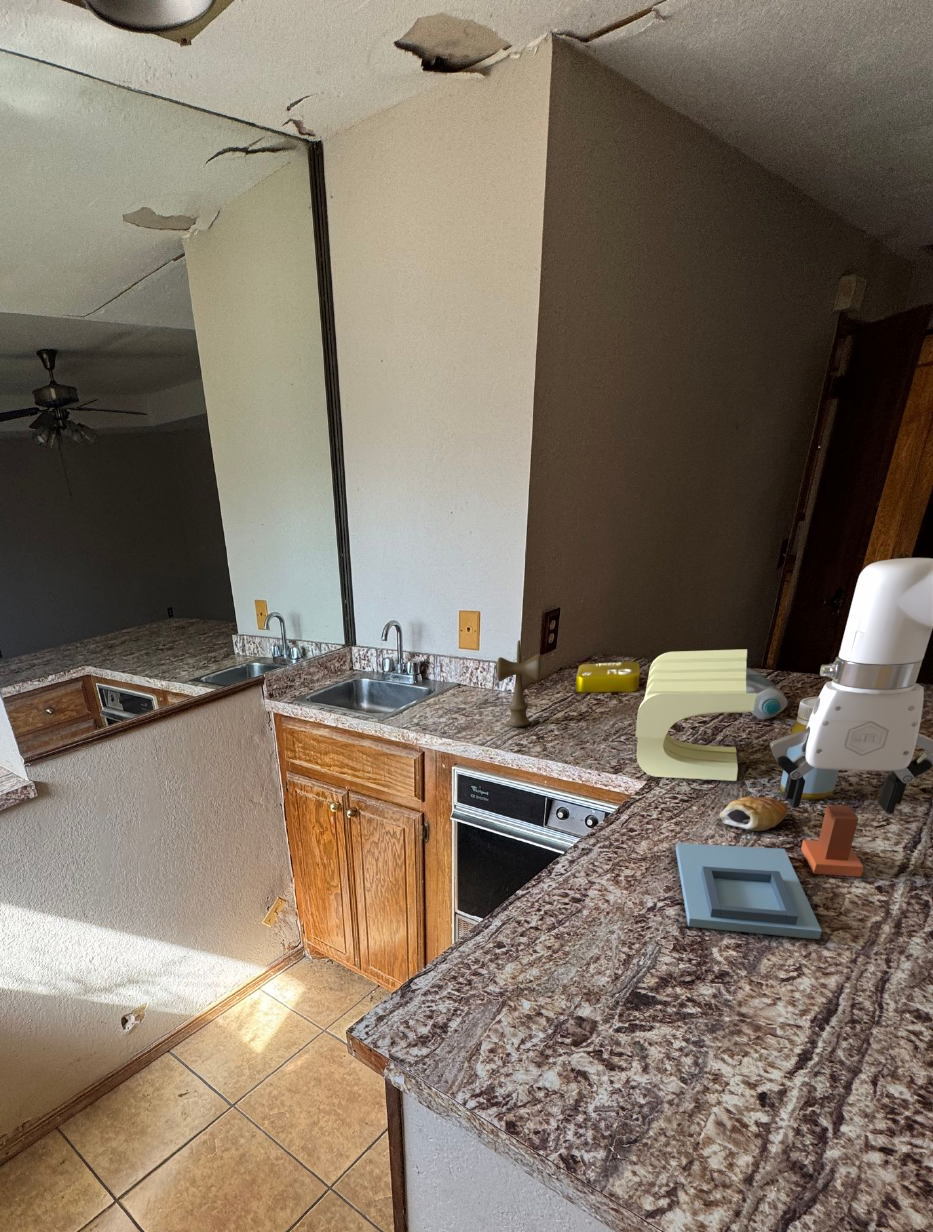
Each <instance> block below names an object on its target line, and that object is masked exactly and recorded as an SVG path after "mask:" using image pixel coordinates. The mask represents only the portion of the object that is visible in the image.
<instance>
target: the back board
mask: <svg viewBox="0 0 933 1232" xmlns="http://www.w3.org/2000/svg"><path fill="white" fill-rule="evenodd" d="M675 854H676V860H677V866H678V872H679V878H680V879H679V880H680V884H681V891H682V896H683V904H684V910H685V915H686V922H687V927H689V928H700V929H709V930H720V931H729V932H740V933H750V934H759V935H770V936H771V935H772V936H780V937H792V938H801V939H812V940H820V939H821V936H822V932H823V931H822V928H821V926H820V923H819V922H818V919H817V917H816V915H815V913H814V911H813V909H812V906H811V904H810V901H809V900H808V897H807V895H806V892H805V891H804V888H803V886H802V884H801V882H800V880H799V877H798V875H797V873H796V870H795V869H794V866H793V863H792V862H791V859H790V858H789V855H788V853H787V851H786V849H785V848H775V847H757V846H740V845H738V846H737V845H721V844H720V845H719V844H701V843H682V842H676V845H675Z"/></svg>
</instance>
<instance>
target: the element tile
mask: <svg viewBox="0 0 933 1232" xmlns="http://www.w3.org/2000/svg"><path fill="white" fill-rule="evenodd" d="M640 671H641V669H640V663H639V662H637V661H624V662H621V661H619V662H599V663H582V664H581V665H578V669H577V673H576V675H575V692H576V693H579V694H599V693H600V694H603V693H604V694H605V693H632V692H636V691H638V690H639V688H640V676H641V675H640V674H641V673H640Z"/></svg>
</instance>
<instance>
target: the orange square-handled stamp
mask: <svg viewBox="0 0 933 1232" xmlns="http://www.w3.org/2000/svg"><path fill="white" fill-rule="evenodd" d="M824 811H825V812H824V817H823V820H822V824H821V829H820V833H819V837H818V840H813V839H803V840H802V844H801V847H800V848H801V849H800V850H801V851H802V853H803V855H804V857H805V860H806V861H807V864H808V866H809V868H810V870H811V872H812V873H813V874H814V875H828V876H842V877H843V876H844V877H859V878H861V877H862V875H863V871H864V865H863V863H862V862H861V860H860V859H859V857H858V856H857V854H856V852H855V851H854V849H853V848H852V847H853V842H854V838H855V834H856V830H857V826H858V823H859V817H858V816H857V815H856V813H855V812H854V810H853V809H852V807H851V806H850V805H831V804H830V805H828V804H827V805H826V808H825V810H824Z"/></svg>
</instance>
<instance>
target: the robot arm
mask: <svg viewBox="0 0 933 1232" xmlns="http://www.w3.org/2000/svg"><path fill="white" fill-rule="evenodd" d="M855 585H856V586H855V588H854V593H853V597H852V601H851V605H850V609H849V612H848V617H847V621H846V625H845V630H844V634H843V638H842V641H841V645H840V649H839V653H838V656H836V657H835V660H834V661H833V663H829V664H821V666H820V669H819V670H820V671H819V675H820V677H828V678H830V679H832V680H831V681H827V682H825V684H824V685H823V688H822V689H821V691H820V693H819V695H818V696H817V697H818V699H817V702H816V704H815V706H814V709H813V711H812V714H811V716H810V719H809V722H808V725H807V728H806V729H804V730H802V731H799V732H796V733H793V734H791V733H790V734H791V735H790V734H788V735H785V736H782V737H780V738H779V737H778V738H777V739H774V740H772V741H770V742H769V748H770V750H771V752H772V754H773V757H774V759H775V761H776V763H777V765H778V766H779V767H780V768H781V769H782V771H783V770H784V771H785V772H786V773H787V774H788V778H787V782H786V786H785V791H784V792H783V798H784V799H785V800H787V801H788V804H789V806H790V807H791V808H792V809H797V808H799V807H800V805H801V801H802V799H801V797H802V793H803V789H804V785H805V780H804V778H803V776H804V775H805V774H806V773H808V772H809V771H811V770H812V769H813V768H818V769H829V770H839V771H860V772H863V771H865V772H867V771H868V772H891V773H888V774H887V776H885V779H884V782H883V785H882V788H881V791H880V795H879V798H878V805H879V806H880V807H881V809H883V811H884V812H886V813H888V814H894V812H895V810H896V806H897V805H901V803H902V801H903V797H904V795H905V791H906V789H907V785H908V784H911V783H912V782H913V781H914V780H915V778H917V777H918V776H920V775H922V774H924V773H926V772H927V771H930V770H931V769H932V768H933V738H930V737H928V736H926V735H924V734H921V733H919V732H920V727H921V722H922V715H923V709H924V708H923V707H924V697H925V695H924V694H925V691H924V690H925V689H924V686H923V685H921V684H919V683H916V682H917V679H918V676H919V673H920V669H921V667H922V663H923V660H924V658H925V654H926V652H927V648H928V644H929V641H930V638H931V635H932V631H933V558H931V557H904V558H892V559H891V558H890V559H885V560H879V561H876V562H872V563H870V564H868V565H866V566H865V567H864V569H862V571H861V572H860V573H859V575H858V578H857V582H856V584H855ZM799 744H802V746H801V752H802V755H800V756H799V757H798V758H796V759H795V760H793V761H791V760H790V759H789V758H788V757H787V755H786V754H787V749H788V748H791V747H794V746H797V745H799ZM916 747H917V748H920V749H921V750H924V752H923V753H922V754H921V756H919V757H917V758H915V759H913V756H914V753H915V749H916Z"/></svg>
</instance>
